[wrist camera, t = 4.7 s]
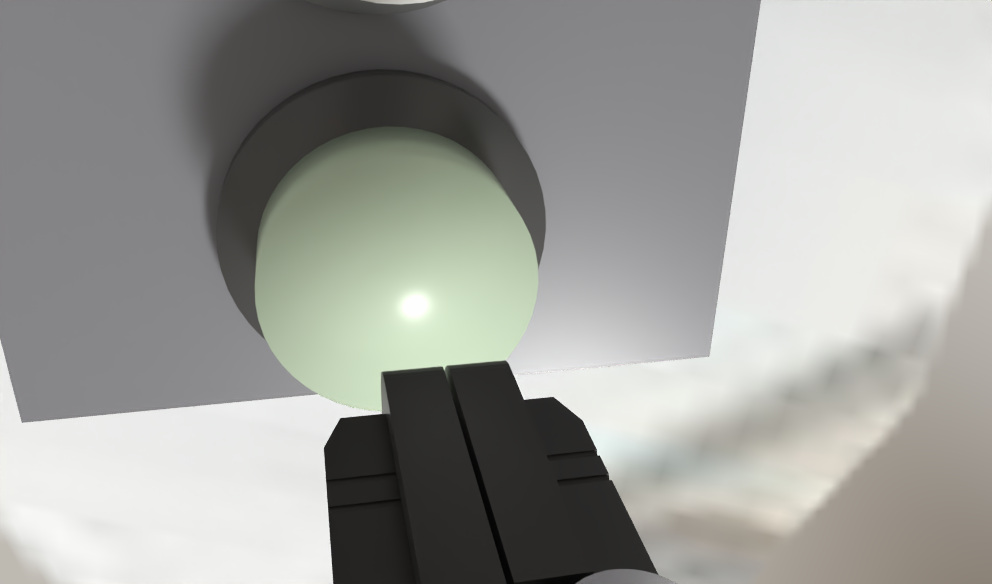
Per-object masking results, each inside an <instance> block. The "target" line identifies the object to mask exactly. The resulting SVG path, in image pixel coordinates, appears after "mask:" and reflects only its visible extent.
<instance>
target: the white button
mask: <svg viewBox="0 0 992 584" xmlns="http://www.w3.org/2000/svg"><path fill="white" fill-rule="evenodd" d="M363 1H368V2H374V3H383V4H412V3H424V2H428V1H433V0H363Z"/></svg>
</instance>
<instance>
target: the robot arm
mask: <svg viewBox="0 0 992 584" xmlns="http://www.w3.org/2000/svg"><path fill="white" fill-rule="evenodd" d="M381 402H382V414H379V415H368V416H358V417H348V418H340V420H339V422H338V424H337V425H336V427H335V429H334V431H333V432H332V434H331V436H330V438H329V440H328V441H327V443H326V445H325V447H324V456H325V470H326V484H327V499H328V513H329V527H330V542H331V556H332V570H333V584H677V583H675V582H673V581H671V580H669V579H667V578H665V577H662V576H660V575H658V573H657V571H656V569H655V567H654V565H653V563H652V561H651V559H650V557H649V555H648V553H647V551H646V549H645V547H644V545H643V543H642V541H641V539H640V537H639V535H638V533H637V531H636V528H635V526H634V524H633V522H632V520H631V518H630V516H629V514H628V512H627V510H626V508H625V506H624V504H623V502H622V500H621V498H620V496H619V494H618V492H617V490H616V488H615V486H614V484H613V482H612V480H609V474H608V472H607V470H606V467H605V465H604V463H603V461H602V459H601V457H600V456H597V449H596V447H595V445H594V443H593V441H592V439H591V437H590V435H589V433H588V431H587V429H586V427H585V425H584V423H583V421H582V420H581V419H580V418H579V417H577V416H576V415H575V414H574V413H572V412H571V411H570V410H569V409H568V408H566V407H565V406H564V405H563V404H561V403H560V402H559V401H558V400H556V399H555V398H554V397H549V398H538V399H528V400H524V399H523V397H522V394H521V392H520V390H519V387H518V385H517V382H516V380H515V377H514V375H513V373H512V370H511V368H510V365H509V363H508V362H507V361H506V360H503V361H492V362H481V363H470V364H458V365H447V366H446V367H445V371H444V369H443V367H442V366H439V367H428V368H416V369H405V370H394V371H383V372H381Z"/></svg>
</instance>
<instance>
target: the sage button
mask: <svg viewBox="0 0 992 584" xmlns="http://www.w3.org/2000/svg"><path fill="white" fill-rule="evenodd" d="M537 290H538V263H537V257H536V252H535V248H534V245H533V242H532V239H531V235H530V233H529V231H528V229H527V227H526V225H525V223H524V221H523V219H522V217H521V216H520V214H519V213H518V211H517V209H516V208H515V206H514V205H513V203H512V201H511V200H510V198H509V197H508V195H507V193H506V192H505V190H504V188H503V187H502V185H501V184H500V182H499V181H498V179H497V178H496V177H495V175H494V174H493V172H492V171H491V170H490V169H489V168H488V167H487V166H486V165H485V164H484V163H483V161H482V160H480V159H479V158H478V157H477V156H475V155H474V154H473V153H472V152H471V151H469V150H468V149H466V148H465V147H463V146H461V145H460V144H458V143H456V142H455V141H453V140H450V139H448V138H446V137H443V136H441V135H439V134H436V133H432V132H429V131H425V130H422V129H415V128H408V127H389V126H386V127H376V128H367V129H363V130H359V131H355V132H350V133H348V134H345V135H342V136H340V137H337V138H334V139H332V140H330V141H328V142H326V143H325V144H323V145H321V146H319V147H317V148H316V149H314V150H313V151H311V152H310V153H309V154H307V155H306V156H304V157H303V158H302V159H301V160H300V161H299V162H297V163H296V164H295V165H294V166H293V167H292V168H291V169H290V170H289V171H288V172H287V174H286V175H285V176H284V177H283V178H282V180H281V181H280V182H279V183H278V185H277V187H276V188H275V190H274V192H273V193H272V195H271V196H270V198H269V200H268V203H267V205H266V207H265V210H264V212H263V215H262V219H261V223H260V226H259V231H258V239H257V251H256V272H255V305H256V310H257V315H258V320H259V323H260V326H261V329H262V332H263V335H264V337H265V339H266V341H267V343H268V345H269V347H270V349H271V351H272V352H273V353H274V355H275V356H276V358H277V359H278V360H279V362H280V363H281V364H282V366H283V367H284V368H285V369H286V370H287V371H288V372H289V373H290V374H291V375H292V376H293V377H294V378H296V379H297V380H298V381H299V382H301V383H302V384H303V385H304V386H306V387H307V388H309V389H311V390H312V391H314V392H316V393H317V394H319V395H321V396H323V397H325V398H327V399H330V400H332V401H334V402H336V403H340V404H343V405H346V406H350V407H353V408H358V409H364V410H370V411H382V402H381V372H383V371H394V370H405V369H416V368H428V367H439V366H442V367H443V369H444V371H445V367H446V366H447V365H458V364H470V363H481V362H492V361H503V360H506V359H507V358H508V357H509V355H510V354H511V353H512V351H513V350H514V349H515V347H516V346H517V345H518V343H519V341H520V340H521V338H522V336H523V334H524V332H525V331H526V329H527V326H528V324H529V321H530V319H531V316H532V314H533V310H534V306H535V302H536V298H537Z"/></svg>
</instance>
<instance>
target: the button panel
mask: <svg viewBox="0 0 992 584" xmlns="http://www.w3.org/2000/svg"><path fill="white" fill-rule="evenodd" d="M760 2H761V0H433V1H428V2H424V3H412V4H383V3H374V2H368V1H363V0H0V339H1V343H2V347H3V351H4V355H5V359H6V363H7V367H8V370H9V374H10V378H11V382H12V386H13V390H14V394H15V398H16V402H17V406H18V409H19V413H20V417H21V421H22V423H23V422H34V421H44V420H54V419H65V418H75V417H86V416H96V415H106V414H117V413H127V412H137V411H148V410H158V409H169V408H179V407H189V406H200V405H210V404H221V403H231V402H241V401H252V400H262V399H273V398H283V397H293V396H304V395H314V394H317V393H316V392H314V391H312V390H311V389H309V388H307V387H306V386H304V385H303V384H302V383H301V382H299V381H298V380H297V379H296V378H294V377H293V376H292V375H291V374H290V373H289V372H288V371H287V370H286V369H285V368H284V367H283V366H282V364H281V363H280V362H279V360H278V359H277V358H276V356H275V355H274V353H273V352H272V351H271V349H270V347H269V345H268V343H267V341H266V339H265V337H264V335H263V332H262V329H261V326H260V323H259V320H258V315H257V310H256V305H255V272H256V251H257V239H258V231H259V226H260V223H261V219H262V215H263V212H264V210H265V207H266V205H267V203H268V200H269V198H270V196H271V195H272V193H273V192H274V190H275V188H276V187H277V185H278V183H279V182H280V181H281V180H282V178H283V177H284V176H285V175H286V174H287V172H288V171H289V170H290V169H291V168H292V167H293V166H294V165H295V164H296V163H297V162H299V161H300V160H301V159H302V158H303V157H304V156H306V155H307V154H309V153H310V152H311V151H313V150H314V149H316V148H317V147H319V146H321V145H323V144H325V143H326V142H328V141H330V140H332V139H334V138H337V137H340V136H342V135H345V134H348V133H350V132H355V131H359V130H363V129H367V128H376V127H386V126H389V127H408V128H415V129H422V130H425V131H429V132H432V133H436V134H439V135H441V136H443V137H446V138H448V139H450V140H453V141H455V142H456V143H458V144H460V145H461V146H463V147H465V148H466V149H468V150H469V151H471V152H472V153H473V154H474V155H475V156H477V157H478V158H479V159H480V160H482V161H483V163H484V164H485V165H486V166H487V167H488V168H489V169H490V170H491V171H492V172H493V174H494V175H495V177H496V178H497V179H498V181H499V182H500V184H501V185H502V187H503V188H504V190H505V192H506V193H507V195H508V197H509V198H510V200H511V201H512V203H513V205H514V206H515V208H516V209H517V211H518V213H519V214H520V216H521V217H522V219H523V221H524V223H525V225H526V227H527V229H528V231H529V233H530V235H531V239H532V242H533V245H534V248H535V252H536V257H537V263H538V290H537V298H536V302H535V306H534V310H533V314H532V316H531V319H530V321H529V324H528V326H527V329H526V331H525V332H524V334H523V336H522V338H521V340H520V341H519V343H518V345H517V346H516V347H515V349H514V350H513V351H512V353H511V354H510V355H509V357H508V358H507V359H506V361H507V362H508V363H509V365H510V368H511V370H512V373H513V375H522V374H533V373H543V372H553V371H564V370H574V369H585V368H595V367H605V366H616V365H626V364H637V363H647V362H657V361H668V360H678V359H689V358H699V357H709V355H710V348H711V341H712V334H713V327H714V320H715V313H716V306H717V299H718V292H719V285H720V278H721V272H722V265H723V258H724V251H725V244H726V237H727V230H728V223H729V216H730V209H731V202H732V195H733V189H734V182H735V175H736V168H737V161H738V154H739V147H740V140H741V133H742V126H743V119H744V112H745V106H746V99H747V92H748V85H749V78H750V71H751V64H752V57H753V50H754V43H755V36H756V29H757V23H758V16H759V9H760Z"/></svg>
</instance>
